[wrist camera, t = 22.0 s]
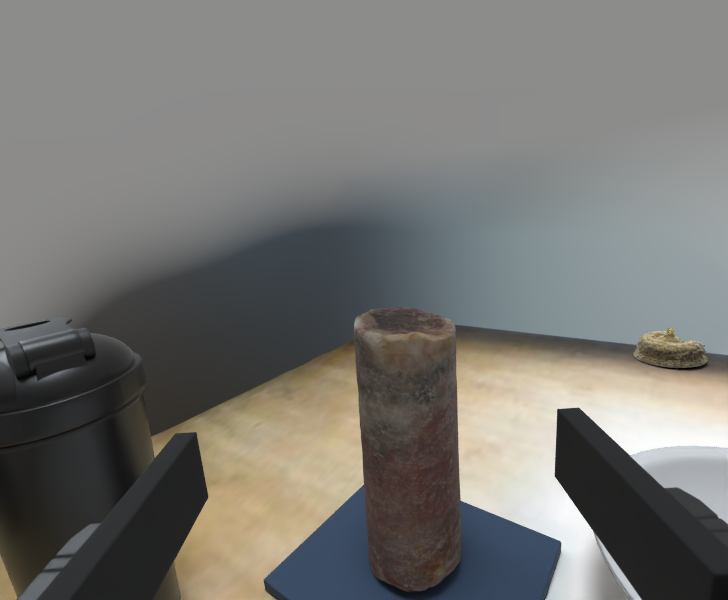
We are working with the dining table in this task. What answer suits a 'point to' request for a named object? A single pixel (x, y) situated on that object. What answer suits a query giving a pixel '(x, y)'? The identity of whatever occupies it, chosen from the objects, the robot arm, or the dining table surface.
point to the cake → (669, 350)
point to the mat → (451, 596)
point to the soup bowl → (682, 485)
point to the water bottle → (66, 440)
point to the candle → (409, 444)
